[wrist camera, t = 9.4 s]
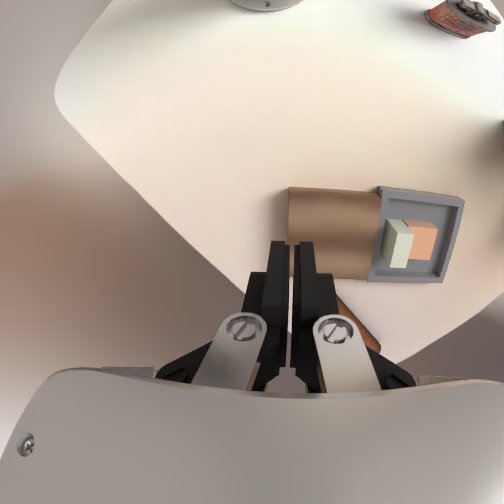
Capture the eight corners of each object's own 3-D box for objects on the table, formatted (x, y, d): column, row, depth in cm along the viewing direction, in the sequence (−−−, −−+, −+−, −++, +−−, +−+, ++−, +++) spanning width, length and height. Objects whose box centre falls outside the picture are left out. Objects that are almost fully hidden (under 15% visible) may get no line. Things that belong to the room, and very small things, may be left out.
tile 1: (437, 229, 33) (430, 222, 35) (408, 226, 33) (402, 219, 35) (429, 260, 35) (423, 252, 37) (401, 258, 36) (396, 250, 38)
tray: (378, 186, 34) (382, 190, 33) (458, 197, 33) (464, 201, 31) (364, 274, 41) (366, 281, 39) (437, 276, 39) (442, 283, 37)
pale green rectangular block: (397, 233, 31) (414, 234, 31) (386, 218, 36) (401, 220, 36) (389, 267, 34) (405, 268, 33) (380, 250, 38) (395, 251, 38)
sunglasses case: (288, 312, 46) (304, 325, 40) (315, 280, 47) (335, 289, 40) (344, 362, 51) (363, 377, 44) (367, 336, 51) (387, 348, 45)
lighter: (425, 24, 22) (459, 6, 13) (423, 6, 20) (455, -15, 11) (469, 43, 21) (508, 34, 12) (467, 25, 19) (504, 13, 10)
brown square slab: (289, 187, 36) (289, 193, 34) (375, 192, 35) (382, 199, 32) (286, 265, 42) (285, 276, 39) (363, 268, 40) (367, 279, 38)
